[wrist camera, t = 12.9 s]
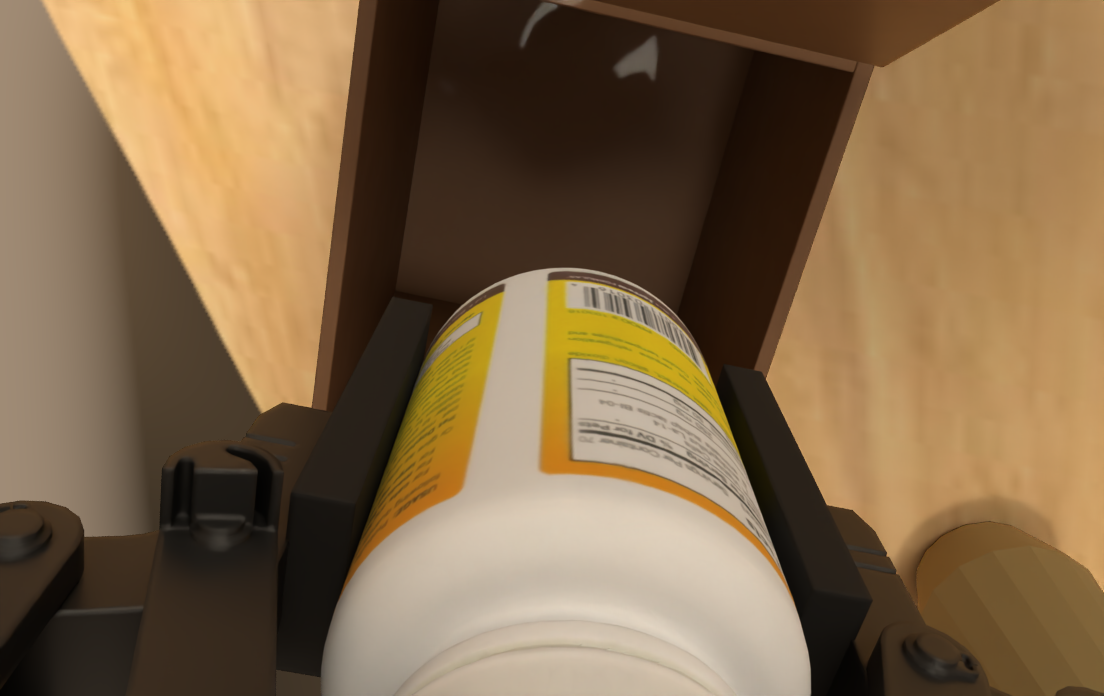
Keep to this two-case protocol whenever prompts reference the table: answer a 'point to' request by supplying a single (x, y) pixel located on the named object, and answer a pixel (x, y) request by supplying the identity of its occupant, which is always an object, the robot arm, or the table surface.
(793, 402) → the table surface
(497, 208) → the carton
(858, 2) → the flap
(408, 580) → the supplement bottle
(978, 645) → the squeeze bottle
